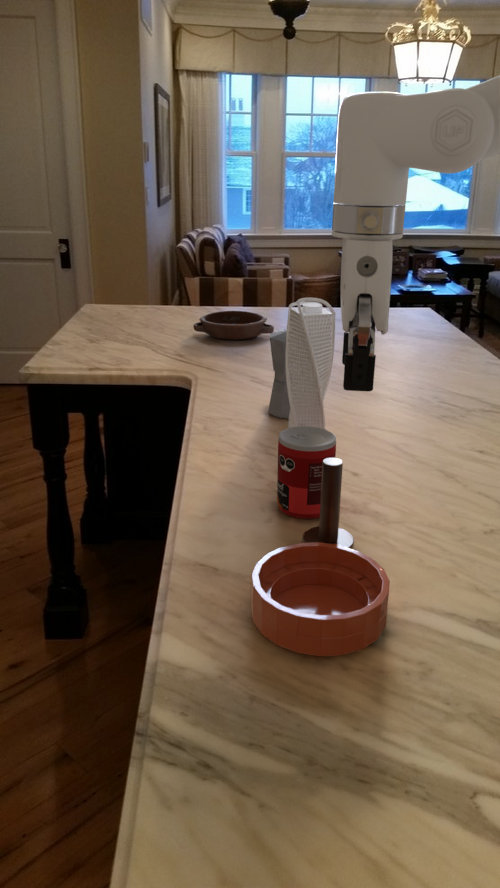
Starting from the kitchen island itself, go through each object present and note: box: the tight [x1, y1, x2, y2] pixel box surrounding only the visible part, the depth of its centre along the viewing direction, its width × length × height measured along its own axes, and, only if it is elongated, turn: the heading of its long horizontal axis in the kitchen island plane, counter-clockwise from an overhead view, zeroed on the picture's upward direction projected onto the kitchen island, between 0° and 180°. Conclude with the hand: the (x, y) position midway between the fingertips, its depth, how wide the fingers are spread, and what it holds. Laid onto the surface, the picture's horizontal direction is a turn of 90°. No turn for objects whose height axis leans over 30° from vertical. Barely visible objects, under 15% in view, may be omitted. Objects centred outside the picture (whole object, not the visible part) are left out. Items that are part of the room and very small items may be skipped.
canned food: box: [276, 426, 337, 520], centre depth 99 cm, size 8×8×11 cm
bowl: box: [250, 542, 391, 657], centre depth 76 cm, size 15×15×5 cm
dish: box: [193, 310, 275, 341], centre depth 193 cm, size 18×22×5 cm
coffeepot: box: [268, 328, 290, 420], centre depth 133 cm, size 15×9×18 cm, turn 19°
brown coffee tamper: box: [301, 457, 355, 549], centre depth 86 cm, size 6×6×13 cm
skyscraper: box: [286, 297, 336, 430], centre depth 107 cm, size 8×8×28 cm
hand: (356, 376), depth 81 cm, fingers open, 9 cm apart
